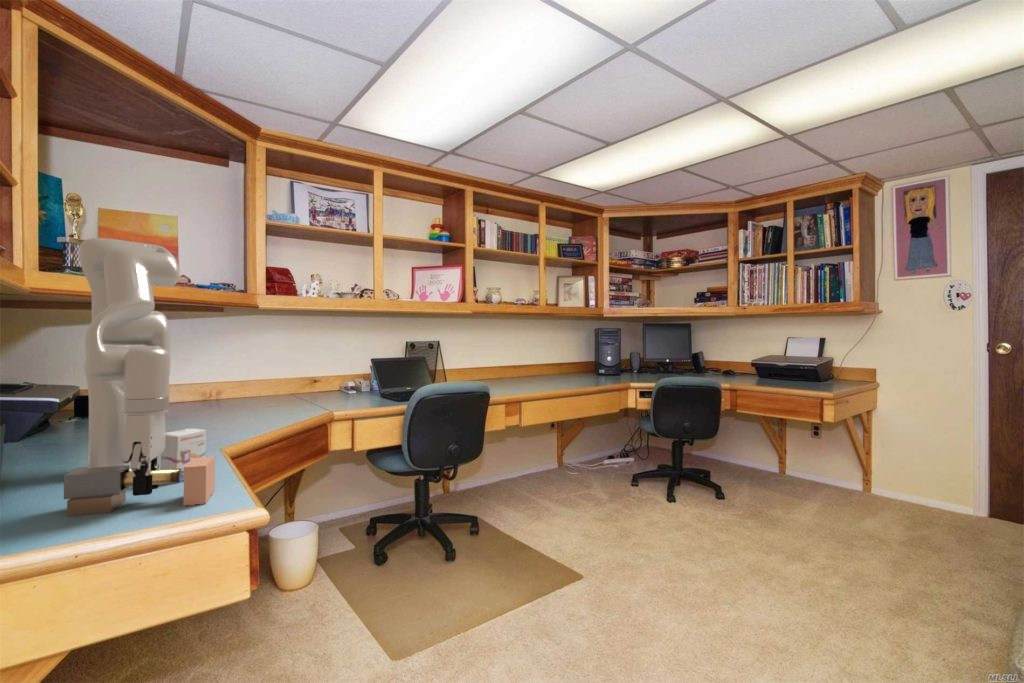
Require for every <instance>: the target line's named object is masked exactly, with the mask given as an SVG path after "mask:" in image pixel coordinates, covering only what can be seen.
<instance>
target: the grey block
mask: <svg viewBox="0 0 1024 683" xmlns="http://www.w3.org/2000/svg"><path fill="white" fill-rule="evenodd" d="M122 472H129V465H125V466H110V467H95V468H87V467H83V468H82V467H81V468H76V469H73V470H71V471H70V472H67V473H66V474H64V475H63V500H67V501H66V517H75V516H83V515H84V516H85V515H95V514H107V513H106V512H108V513H112V512H113V511H115V510H116V509H118V508H119V506H121V505H122V504H124V502H126V501H125V500H126V499H127V498H126V490H128V489H129V488H130V487H121V473H122ZM121 503H122V504H121ZM120 504H121V505H120ZM115 508H116V509H115Z"/></svg>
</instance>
